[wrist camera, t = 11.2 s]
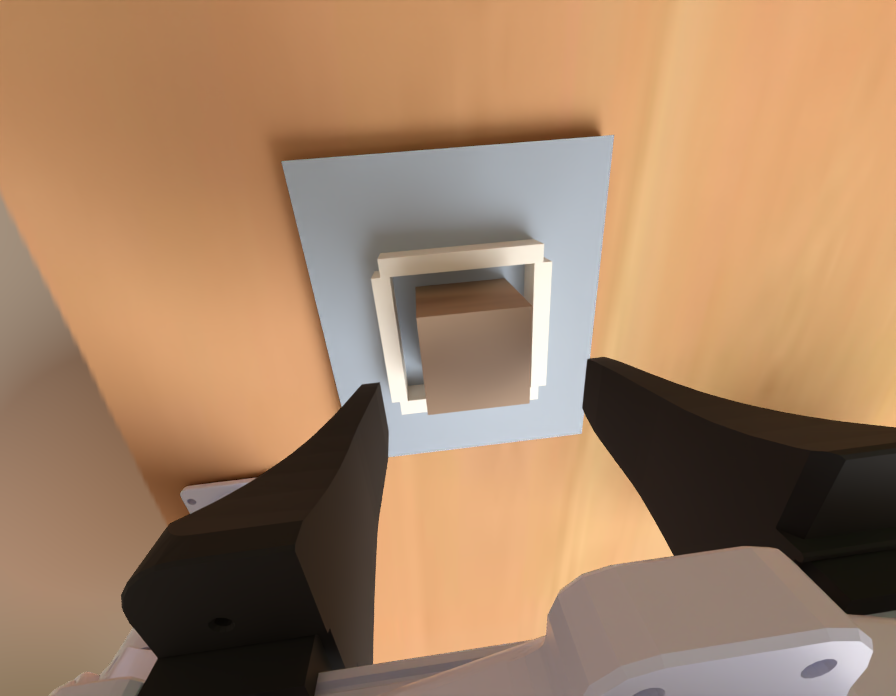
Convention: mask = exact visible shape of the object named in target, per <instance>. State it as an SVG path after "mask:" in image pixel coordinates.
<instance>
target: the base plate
mask: <svg viewBox="0 0 896 696" xmlns="http://www.w3.org/2000/svg"><path fill="white" fill-rule="evenodd" d="M613 140H614V135H609V136H596V137H583V138H570V139H558V140H545V141H532V142H519V143H506V144H494V145H481V146H468V147H455V148H443V149H430V150H417V151H404V152H391V153H379V154H366V155H353V156H340V157H328V158H315V159H302V160H289V161H281V162H282V166H283V170H284V175H285V179H286V183H287V187H288V191H289V195H290V199H291V203H292V207H293V211H294V215H295V219H296V223H297V228H298V232H299V236H300V240H301V244H302V248H303V252H304V256H305V260H306V264H307V268H308V272H309V276H310V281H311V285H312V289H313V293H314V297H315V301H316V305H317V309H318V313H319V317H320V321H321V325H322V329H323V333H324V338H325V342H326V346H327V350H328V354H329V358H330V362H331V366H332V370H333V374H334V378H335V382H336V386H337V391H338V395H339V399H340V403H341V407H342V406H343V405H344V404H345V403H346V402H347V401H348V399H349V398H350V397H351V396H352V395H353V394H354V392H355V391H356V390H357V389H358V388H359V387H360V386H361V385H362V384H368V383H377V382H380V385H381V391H382V396H383V402H384V407H385V413H386V418H387V424H388V429H389V448H388V457H394V456H402V455H410V454H418V453H427V452H435V451H443V450H451V449H459V448H468V447H476V446H484V445H492V444H500V443H509V442H517V441H525V440H533V439H542V438H550V437H558V436H566V435H574V434H582V425H583V416H584V411H583V409H582V404H583V394H584V384H585V375H586V365H587V359H590V352H591V343H592V333H593V324H594V315H595V306H596V297H597V287H598V278H599V269H600V260H601V251H602V241H603V232H604V223H605V214H606V205H607V195H608V186H609V177H610V168H611V159H612V149H613ZM502 278H505V279H506V280H507V281H508V282H509V283H510V284H511V285H512V286H513V287H514V288H515V289H516V290H517V291H518V292H519V293H520V294H521V295H522V296H523V297H524V298H525V299H526V300H527V301H528V302H529V303H530V304H531V305H532V306H533V308H532V341H531V374H530V403H529V404H521V405H512V406H503V407H495V408H486V409H477V410H469V411H460V412H451V413H443V414H434V415H428V412H427V404H426V396H425V387H424V379H423V370H422V362H421V354H420V345H419V337H418V329H417V320H416V290H415V287H419V286H429V285H439V284H450V283H460V282H471V281H481V280H491V279H502Z"/></svg>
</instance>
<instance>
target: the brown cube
mask: <svg viewBox="0 0 896 696" xmlns="http://www.w3.org/2000/svg"><path fill="white" fill-rule="evenodd" d="M415 290H416V320H417V329H418V337H419V345H420V354H421V362H422V370H423V379H424V387H425V396H426V404H427V412H428V415H434V414H443V413H451V412H460V411H469V410H477V409H486V408H495V407H503V406H512V405H521V404H529V403H530V374H531V341H532V308H533V306H532V305H531V304H530V303H529V302H528V301H527V300H526V299H525V298H524V297H523V296H522V295H521V294H520V293H519V292H518V291H517V290H516V289H515V288H514V287H513V286H512V285H511V284H510V283H509V282H508V281H507V280H506V279H505V278H502V279H491V280H481V281H471V282H460V283H450V284H439V285H429V286H419V287H415Z"/></svg>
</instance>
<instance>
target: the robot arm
mask: <svg viewBox="0 0 896 696" xmlns="http://www.w3.org/2000/svg"><path fill="white" fill-rule="evenodd" d="M582 409H583V411H584V413H585V415H586V417H587V419H588V421H589V423H590V425H591V426H592V428H593V430H594V432H595V433H596V435H597V436H598V438H599V439H600V440H601V442H602V443H603V444H604V446H605V447H606V449H607V450H608V451H609V453H610V454H611V455H612V457H613V458H614V460H615V461H616V462H617V464H618V465H619V466H620V468H621V469H622V470H623V472H624V473H625V475H626V476H627V477H628V479H629V480H630V481H631V483H632V484H633V486H634V487H635V489H636V490H637V492H638V493H639V495H640V496H641V498H642V500H643V501H644V503H645V505H646V506H647V508H648V510H649V512H650V513H651V515H652V517H653V518H654V520H655V522H656V524H657V525H658V527H659V529H660V531H661V533H662V535H663V536H664V538H665V540H666V542H667V544H668V546H669V547H670V549H671V551H672V553H673V555H674V556H671V557H664V558H657V559H650V560H643V561H636V562H630V563H623V564H616V565H610V566H607V567H603V568H600V569H597V570H594V571H591V572H587V573H584V574H581V575H580V576H579V577H577V578H576V579H575V580H573V581H572V582H571V583H569V584H568V585H566V586H565V587H564V588H562V589H561V590H560V591H559V593H558V595H557V597H556V599H555V601H554V603H553V605H552V607H551V609H550V612H549V614H548V617H547V630H546V635H545V636H542V637H539V638H536V639H534V640H528V641H522V642H515V643H509V644H502V645H496V646H489V647H483V648H476V649H470V650H463V651H457V652H450V653H444V654H437V655H431V656H424V657H418V658H412V659H405V660H399V661H392V662H386V663H379V664H373V631H374V596H375V571H376V550H377V531H378V522H379V514H380V507H381V501H382V495H383V488H384V482H385V475H386V469H387V462H388V448H389V429H388V424H387V418H386V413H385V407H384V402H383V396H382V391H381V385H380V382H377V383H368V384H362V385H361V386H360V387H359V388H358V389H357V390H356V391H355V392H354V394H353V395H352V396H351V397H350V398H349V399H348V401H347V402H346V403H345V404H344V405H343V406H342V407H341V408H340V410H339V411H338V412H337V413H336V414H335V415H334V416H333V417H332V418H331V419H330V420H329V421H328V422H327V423H326V424H325V425H324V426H323V427H322V428H321V429H320V430H319V431H318V432H317V433H316V434H315V435H314V436H312V437H311V438H310V439H309V440H308V441H307V442H306V443H304V444H303V445H302V446H301V447H299V448H298V449H297V450H296V451H294V452H293V453H292V454H291V455H289V456H288V457H287V458H285V459H284V460H282V461H281V462H279V463H278V464H276V465H275V466H274V467H272V468H271V469H269V470H268V471H266V472H265V473H263V474H262V475H260V476H259V477H257V478H248V479H240V480H232V481H224V482H216V483H207V484H199V485H191V486H186V487H185V488H183V490H182V491H181V493H180V496H181V498H182V500H183V502H184V504H185V505H186V507H187V509H188V511H189V513H190V514H189V515H187V516H185V517H183V518H181V519H179V520H176V521H174V522H172V523H170V524H169V525H168V527H167V528H166V529H165V531H164V532H163V533H162V535H161V536H160V538H159V539H158V541H157V542H156V543H155V545H154V546H153V547H152V549H151V550H150V551H149V553H148V554H147V556H146V557H145V559H144V560H143V561H142V563H141V564H140V565H139V567H138V568H137V570H136V571H135V572H134V574H133V575H132V577H131V578H130V579H129V581H128V582H127V584H126V586H125V588H124V590H123V592H122V594H121V600H122V609H123V612H124V614H125V616H126V617H127V619H128V621H129V623H130V624H131V625H132V627H133V628H132V630H131V631H130V633H129V635H128V636H127V638H126V639H125V641H124V642H123V644H122V646H121V647H120V649H119V650H118V652H117V653H116V655H115V657H114V658H113V660H112V661H111V663H110V664H109V666H108V667H107V668H106V669H105V670H104V671H103V672H102V673H101V674H100V675H97V674H94V673H91V672H84V673H81V674H80V675H79V676H77V677H76V678H75V679H74V680H72V681H69V682H67V683H66V684H64V685H62V686H60V687H58V688H56V689H55V690H54V691H53V692H52V693H51V694H50V695H49V696H896V427H886V426H877V425H868V424H858V423H849V422H841V421H833V420H827V419H820V418H814V417H807V416H801V415H796V414H790V413H784V412H779V411H775V410H770V409H765V408H760V407H756V406H751V405H747V404H743V403H739V402H735V401H731V400H728V399H724V398H720V397H717V396H713V395H710V394H706V393H703V392H700V391H697V390H694V389H691V388H688V387H685V386H682V385H679V384H676V383H674V382H671V381H668V380H666V379H663V378H660V377H658V376H655V375H652V374H650V373H647V372H645V371H642V370H640V369H637V368H635V367H632V366H630V365H627V364H624V363H622V362H619V361H616V360H613V359H610V358H606V357H600V358H591V359H587V365H586V375H585V384H584V394H583V404H582Z"/></svg>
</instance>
